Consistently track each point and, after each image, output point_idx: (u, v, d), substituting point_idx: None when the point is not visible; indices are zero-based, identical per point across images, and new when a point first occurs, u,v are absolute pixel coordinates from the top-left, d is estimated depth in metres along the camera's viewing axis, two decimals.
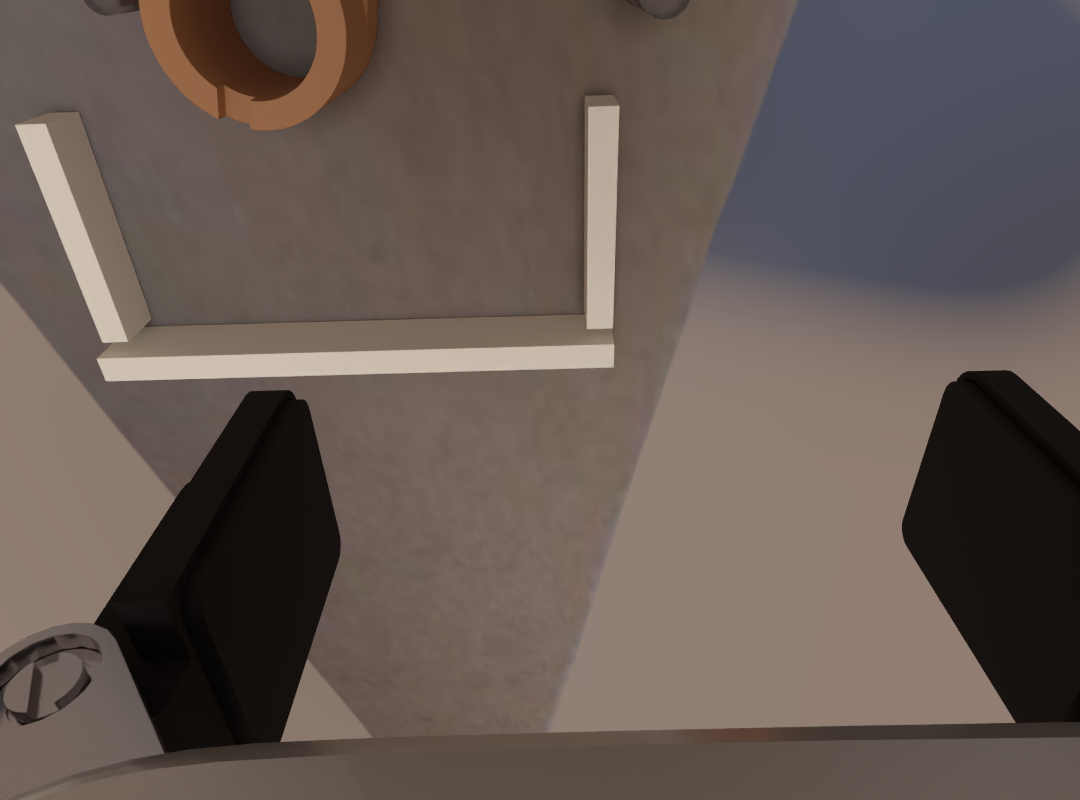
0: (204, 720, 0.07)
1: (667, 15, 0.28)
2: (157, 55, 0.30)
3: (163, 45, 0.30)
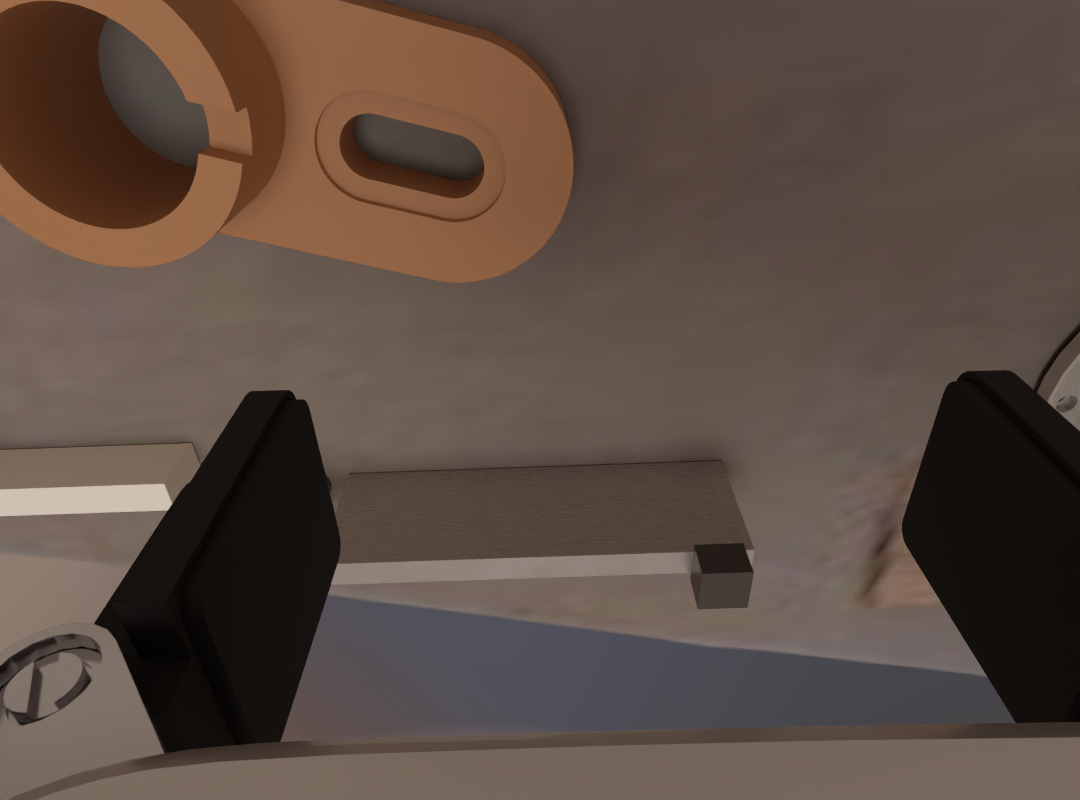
0: (204, 720, 0.07)
1: None
2: None
3: None
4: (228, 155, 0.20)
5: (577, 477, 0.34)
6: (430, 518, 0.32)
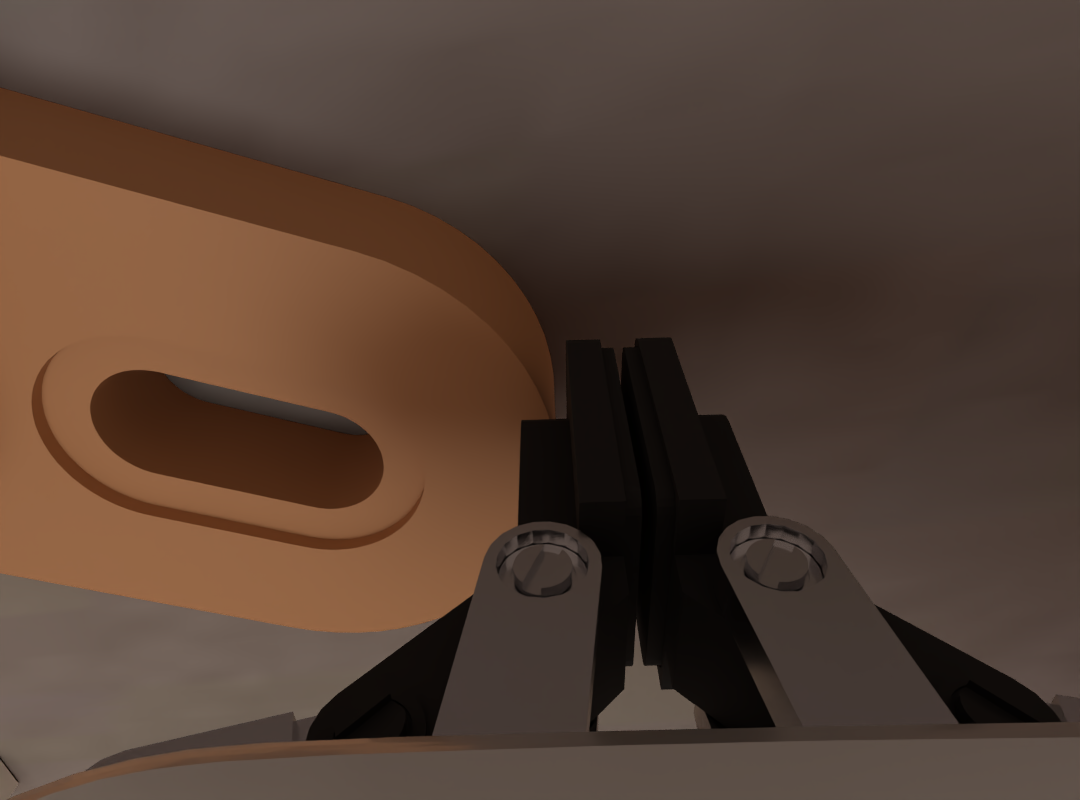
0: None
1: None
2: None
3: None
4: None
5: None
6: None
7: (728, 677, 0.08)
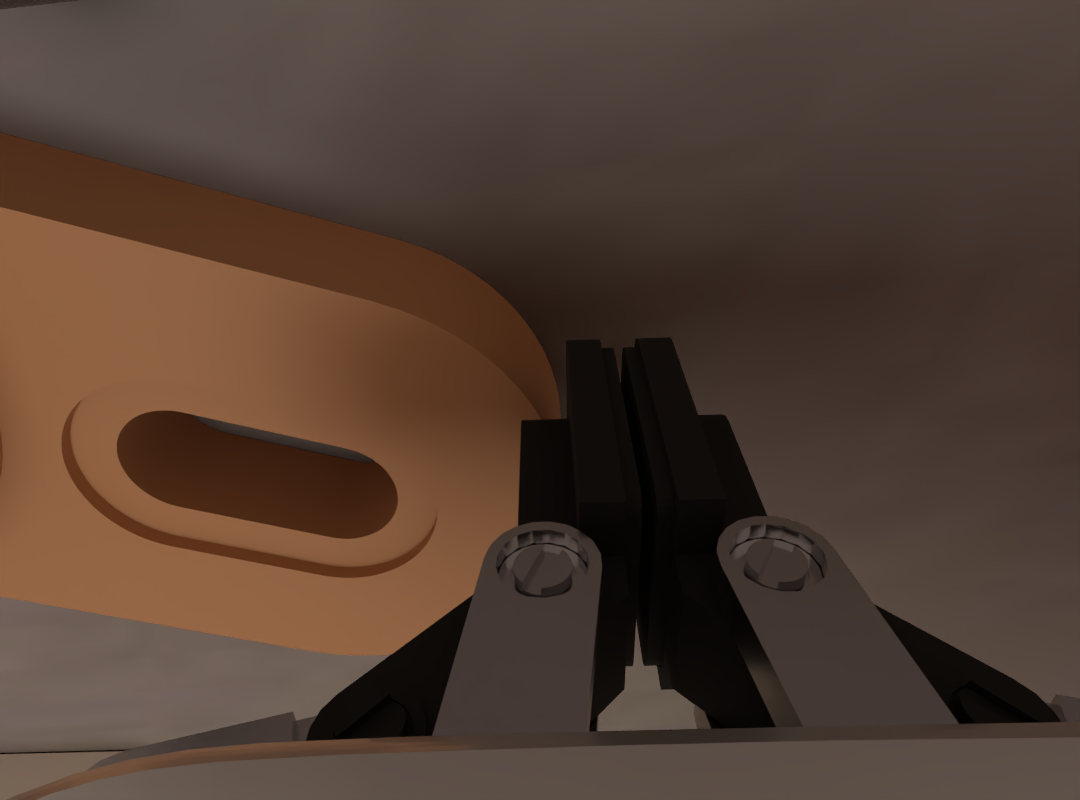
0: None
1: None
2: None
3: None
4: None
5: None
6: None
7: (728, 677, 0.08)
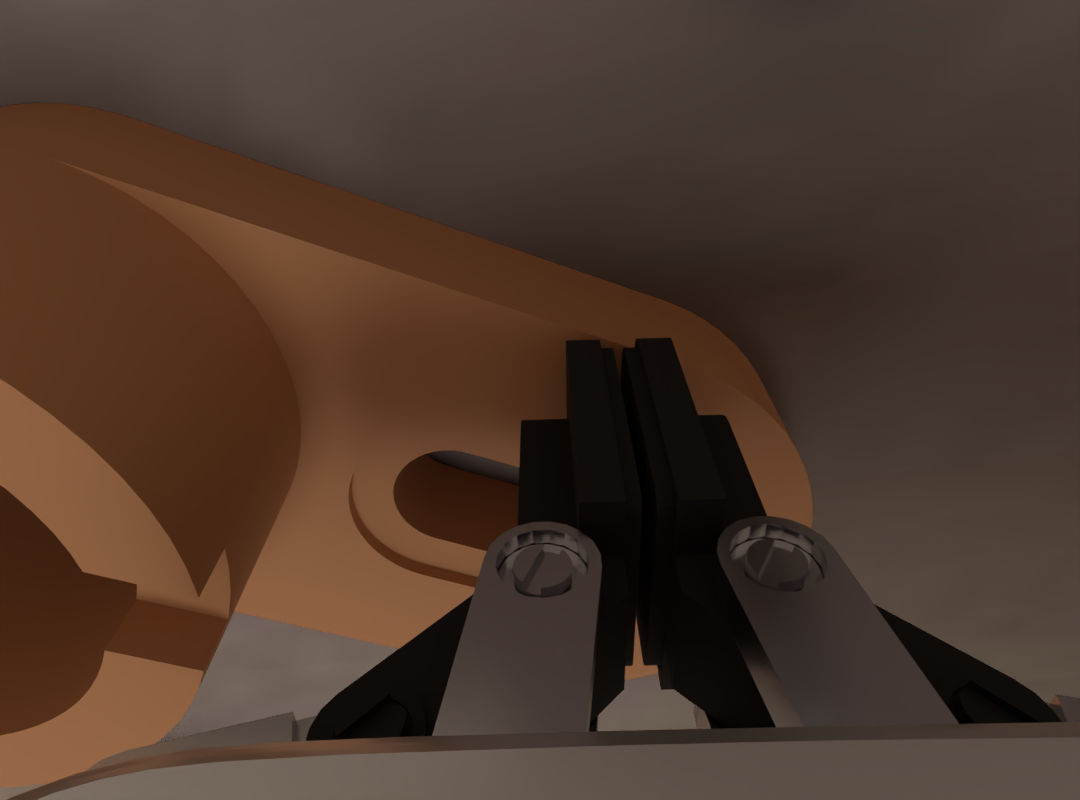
0: None
1: None
2: None
3: None
4: (173, 635, 0.09)
5: None
6: None
7: (728, 677, 0.08)
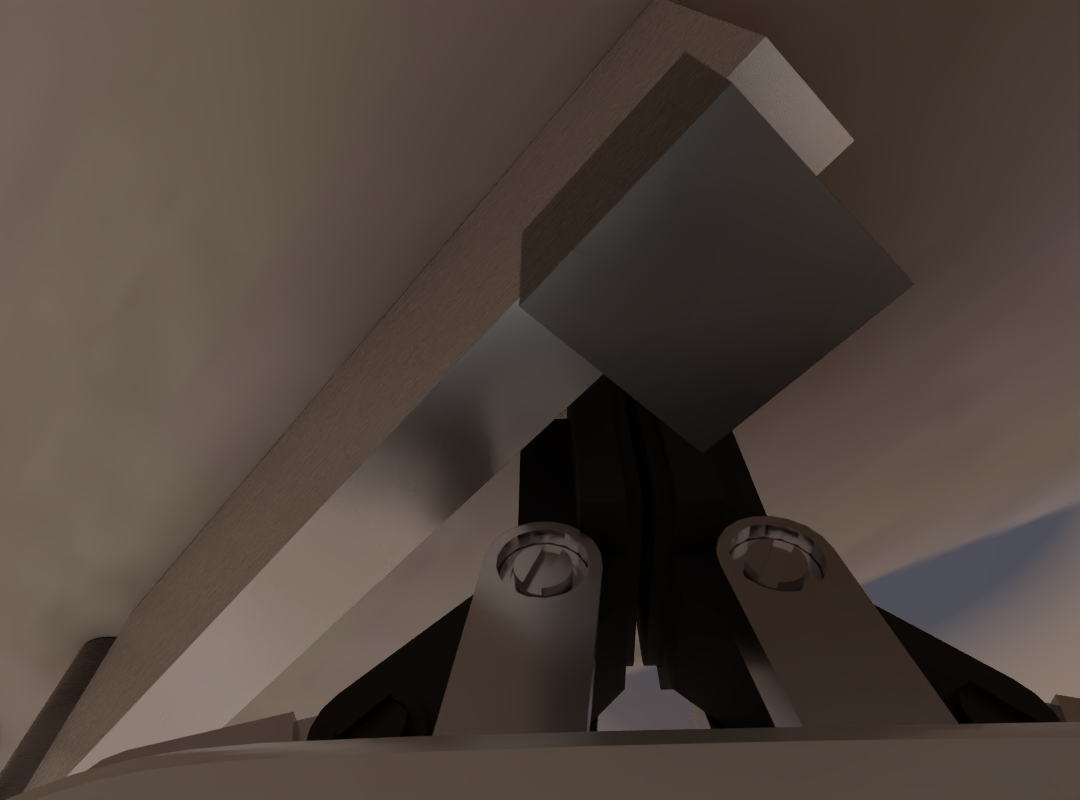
0: None
1: None
2: None
3: None
4: None
5: (378, 334, 0.13)
6: (147, 636, 0.13)
7: (727, 676, 0.08)
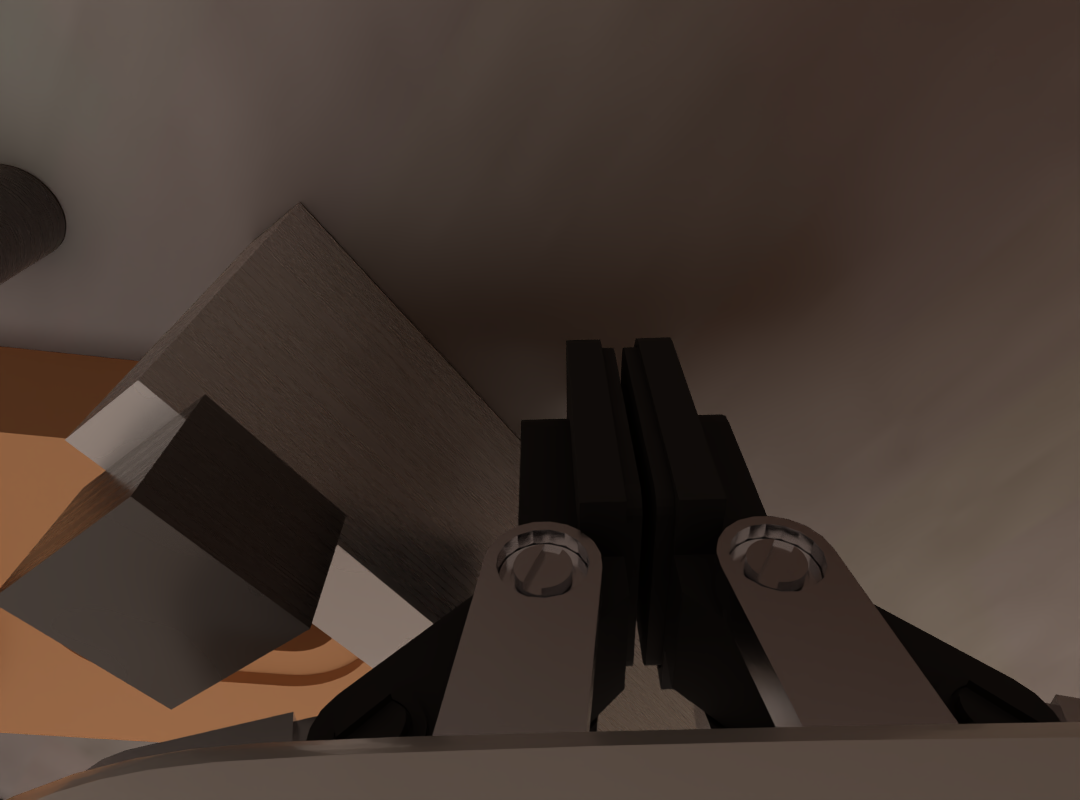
0: None
1: None
2: None
3: None
4: None
5: None
6: None
7: (727, 677, 0.08)
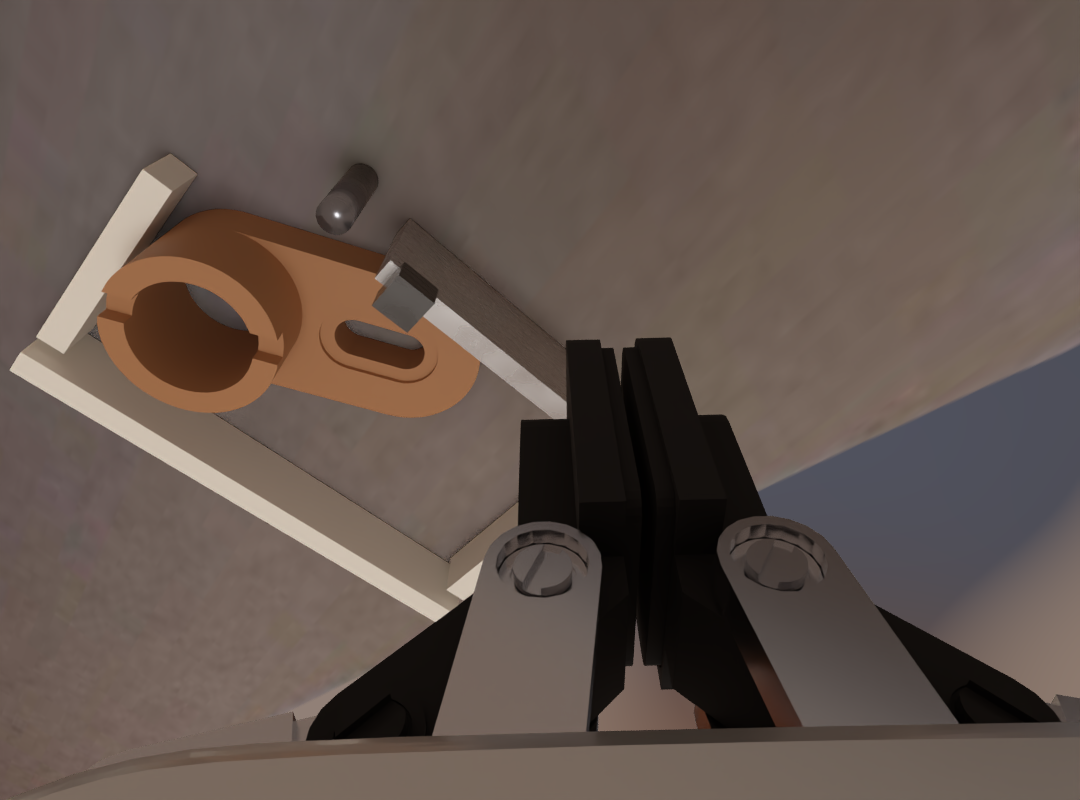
0: None
1: None
2: (152, 259, 0.32)
3: (162, 267, 0.32)
4: (269, 358, 0.35)
5: None
6: None
7: (728, 677, 0.08)
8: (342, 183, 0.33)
